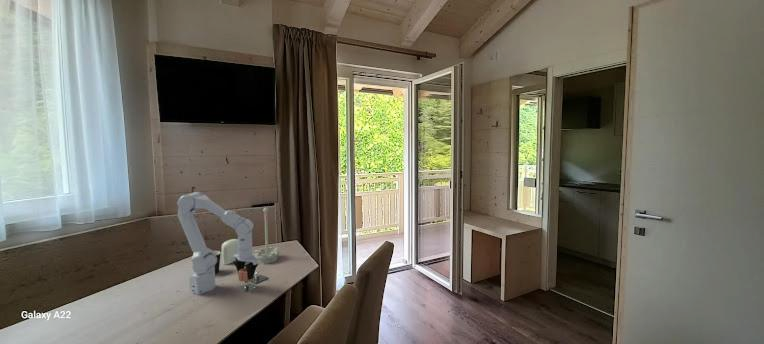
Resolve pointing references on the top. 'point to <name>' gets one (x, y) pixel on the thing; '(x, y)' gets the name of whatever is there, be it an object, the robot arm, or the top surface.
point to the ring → (243, 275)
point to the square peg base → (258, 278)
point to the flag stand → (268, 253)
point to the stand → (246, 287)
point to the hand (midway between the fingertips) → (246, 277)
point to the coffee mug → (217, 260)
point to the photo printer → (229, 251)
